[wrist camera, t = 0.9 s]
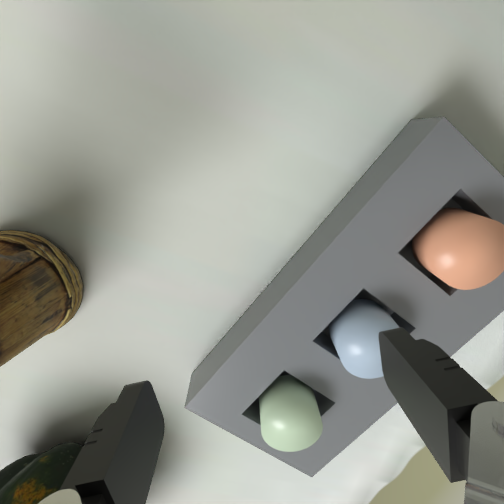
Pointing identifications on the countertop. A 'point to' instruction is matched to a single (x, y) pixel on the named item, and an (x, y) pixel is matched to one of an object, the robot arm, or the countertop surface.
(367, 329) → the slate button
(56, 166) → the countertop surface
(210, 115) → the countertop surface
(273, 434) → the sage button
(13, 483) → the squash
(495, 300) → the button panel
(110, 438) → the robot arm
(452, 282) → the terracotta button
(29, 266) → the wooden mug
